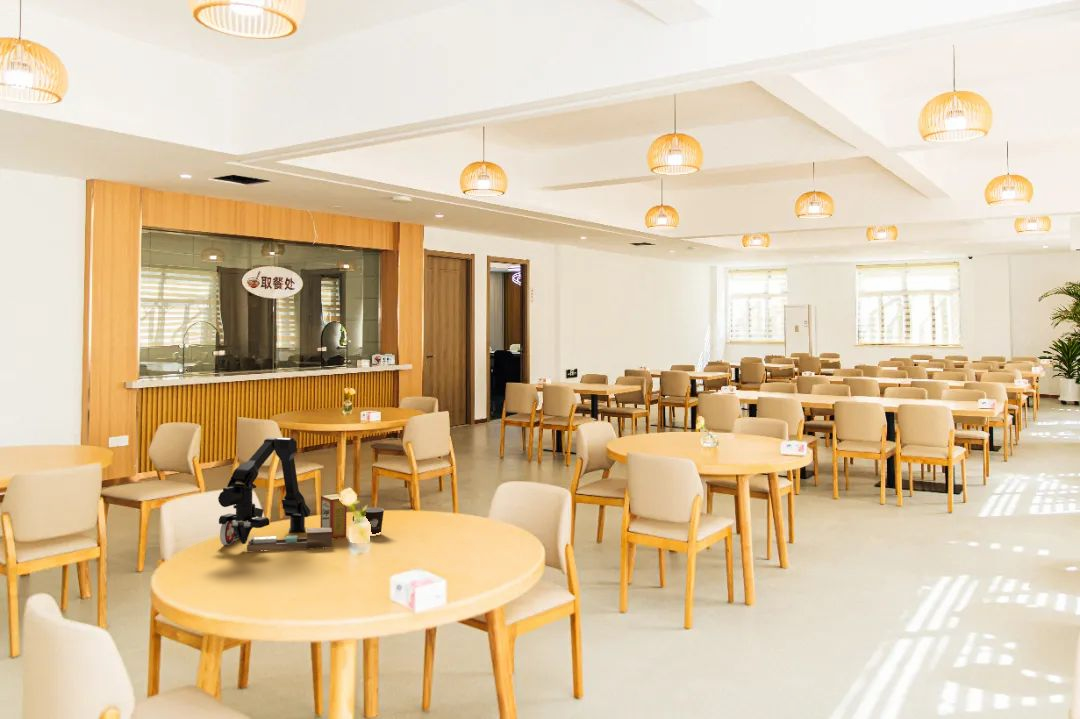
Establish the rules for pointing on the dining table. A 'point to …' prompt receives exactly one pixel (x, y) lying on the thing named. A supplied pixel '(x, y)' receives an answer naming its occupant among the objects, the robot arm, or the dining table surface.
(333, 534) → the baking soda box
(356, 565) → the dining table surface
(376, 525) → the coffee mug
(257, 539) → the grey rectangular block
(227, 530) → the sign
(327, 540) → the housing
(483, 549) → the dining table surface
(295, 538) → the teal cube block
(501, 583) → the dining table surface
